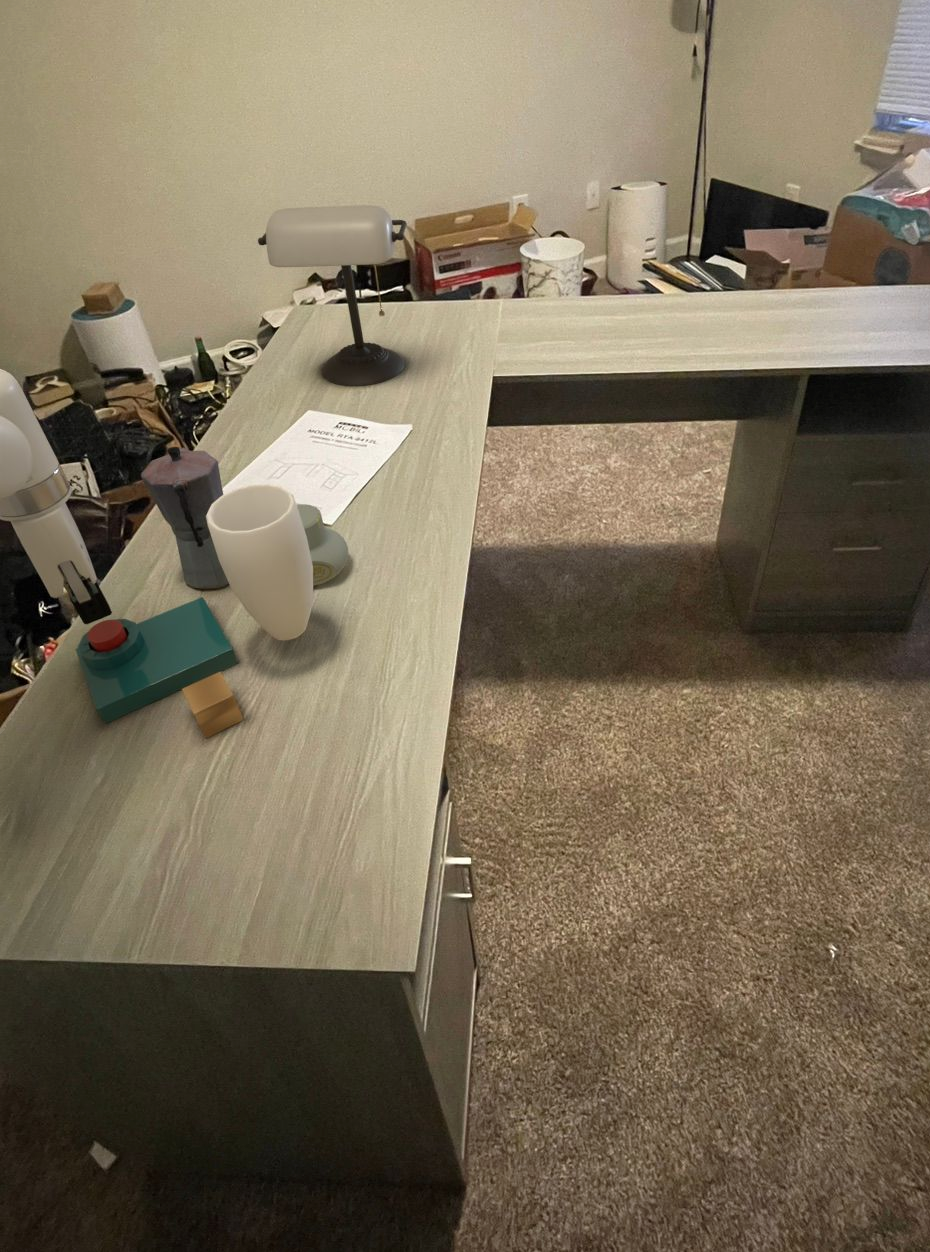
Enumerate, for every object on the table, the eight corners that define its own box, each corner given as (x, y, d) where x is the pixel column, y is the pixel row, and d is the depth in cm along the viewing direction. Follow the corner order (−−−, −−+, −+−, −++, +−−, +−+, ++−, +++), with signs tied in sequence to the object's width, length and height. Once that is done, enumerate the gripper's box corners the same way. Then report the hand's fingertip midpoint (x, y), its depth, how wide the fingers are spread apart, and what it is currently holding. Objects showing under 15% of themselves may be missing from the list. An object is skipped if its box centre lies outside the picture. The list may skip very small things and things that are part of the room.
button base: (105, 724, 86) (89, 699, 83) (83, 661, 94) (68, 636, 91) (238, 663, 92) (228, 638, 90) (207, 609, 100) (197, 584, 97)
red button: (96, 657, 88) (90, 647, 87) (89, 638, 91) (83, 628, 90) (130, 643, 90) (125, 633, 89) (123, 625, 93) (117, 615, 91)
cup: (250, 680, 90) (197, 543, 76) (254, 623, 98) (205, 488, 84) (336, 665, 92) (298, 527, 78) (332, 609, 100) (298, 475, 86)
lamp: (286, 402, 146) (241, 221, 125) (310, 351, 165) (274, 186, 143) (418, 398, 146) (396, 216, 124) (427, 347, 165) (409, 181, 143)
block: (205, 739, 84) (193, 714, 81) (193, 713, 86) (181, 688, 84) (243, 720, 86) (233, 695, 83) (231, 696, 88) (220, 671, 85)
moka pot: (241, 534, 113) (203, 418, 100) (262, 593, 103) (221, 472, 90) (177, 552, 110) (128, 435, 97) (191, 615, 99) (138, 493, 87)
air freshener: (350, 548, 110) (338, 493, 103) (352, 584, 103) (340, 527, 97) (275, 559, 108) (258, 504, 102) (273, 596, 102) (255, 539, 96)
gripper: (-23, 469, 79) (52, 595, 91) (-4, 537, 70) (77, 667, 82) (52, 447, 82) (115, 571, 94) (80, 509, 73) (146, 638, 85)
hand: (97, 615), depth 88 cm, fingers closed
